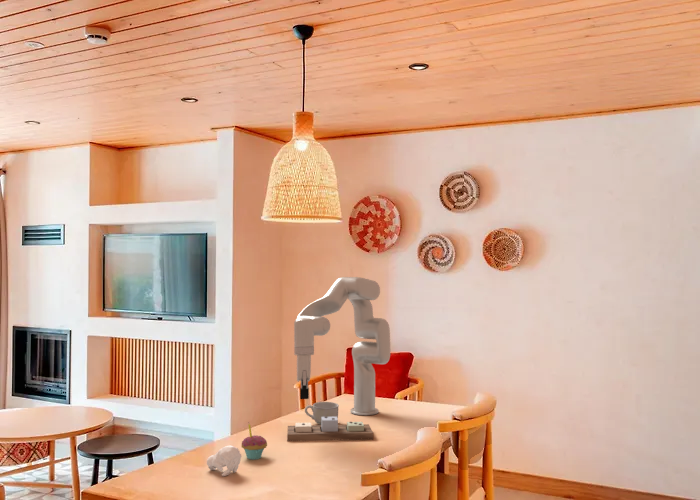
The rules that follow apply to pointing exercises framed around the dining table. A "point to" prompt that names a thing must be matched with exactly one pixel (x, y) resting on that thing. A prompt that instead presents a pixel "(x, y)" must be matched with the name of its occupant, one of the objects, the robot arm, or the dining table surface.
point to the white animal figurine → (225, 460)
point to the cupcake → (253, 445)
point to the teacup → (322, 410)
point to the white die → (329, 424)
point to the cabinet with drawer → (329, 434)
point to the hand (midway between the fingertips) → (304, 398)
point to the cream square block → (302, 427)
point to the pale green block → (355, 426)
